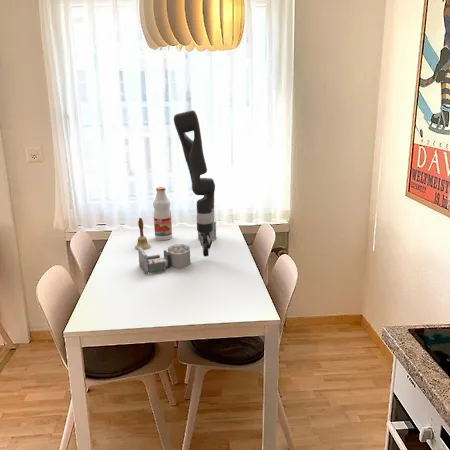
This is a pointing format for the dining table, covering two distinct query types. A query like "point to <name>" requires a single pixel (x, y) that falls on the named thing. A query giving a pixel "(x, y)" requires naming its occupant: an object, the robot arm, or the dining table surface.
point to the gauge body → (150, 267)
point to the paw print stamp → (179, 256)
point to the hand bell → (142, 237)
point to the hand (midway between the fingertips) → (205, 255)
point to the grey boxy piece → (161, 259)
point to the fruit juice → (162, 215)
